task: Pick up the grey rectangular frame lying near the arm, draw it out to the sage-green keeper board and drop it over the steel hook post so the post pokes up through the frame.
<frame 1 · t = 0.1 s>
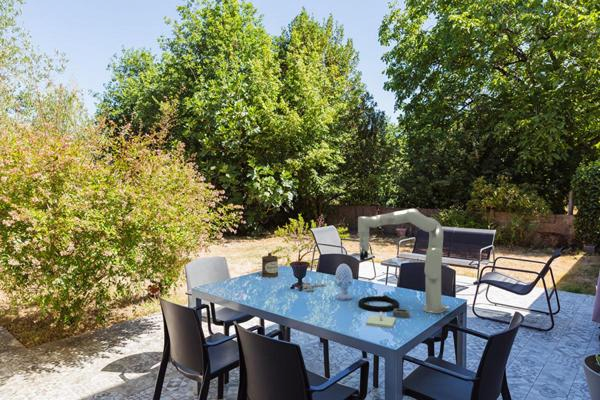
hand: (364, 259, 259), 31 cm above the table, tool pointing down, fingers open, 9 cm apart
keeper board: (381, 322, 221), on the table
cable lock: (379, 306, 255), on the table
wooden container: (270, 276, 353), on the table
pulley system: (312, 288, 306), on the table
grey rectangular frame: (401, 316, 232), on the table
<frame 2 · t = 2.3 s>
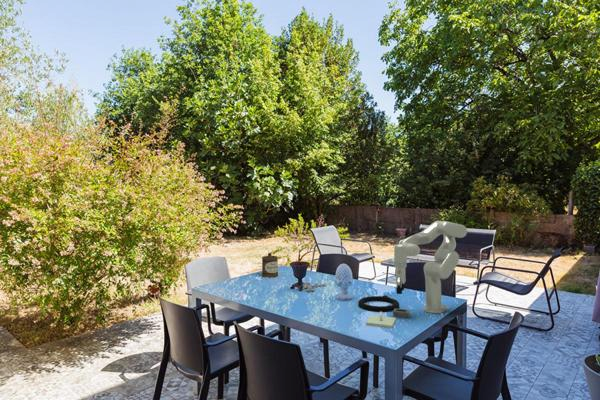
hand: (400, 292, 232), 15 cm above the table, tool pointing down, fingers open, 9 cm apart
nothing on the table moved.
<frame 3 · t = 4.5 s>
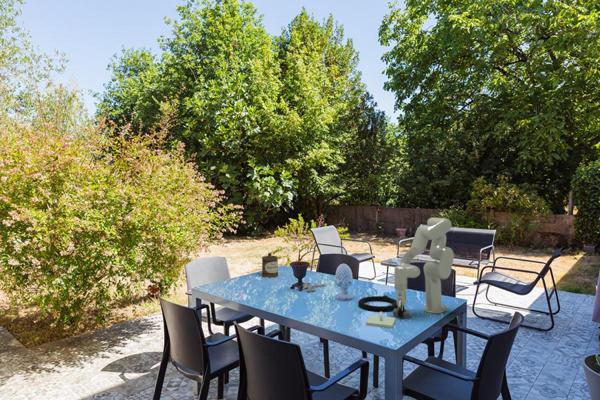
hand: (401, 314, 232), 1 cm above the table, tool pointing down, fingers closed on grey rectangular frame, 6 cm apart
grey rectangular frame: (401, 316, 232), on the table, touching gripper
everything else where it was.
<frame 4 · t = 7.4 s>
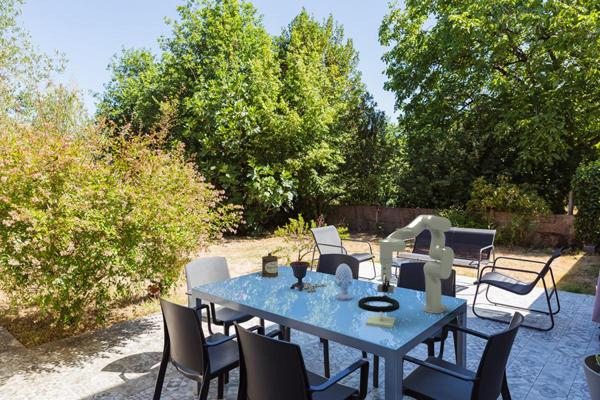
hand: (385, 290, 224), 18 cm above the table, tool pointing down, fingers closed on grey rectangular frame, 6 cm apart
grey rectangular frame: (385, 291, 224), point 18 cm above the table, touching gripper
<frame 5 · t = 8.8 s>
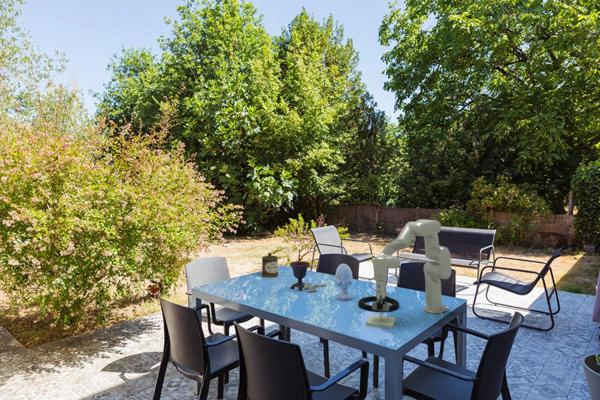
hand: (380, 307, 221), 9 cm above the table, tool pointing down, fingers closed on grey rectangular frame, 6 cm apart
grey rectangular frame: (380, 309, 221), point 8 cm above the table, touching gripper
when the fingers open (4 cm above the table, at t = 10.3 s): grey rectangular frame drops 2 cm, resting on keeper board.
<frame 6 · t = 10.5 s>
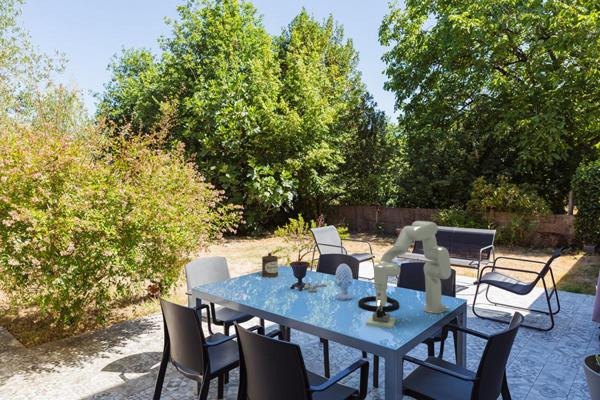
hand: (381, 315, 221), 4 cm above the table, tool pointing down, fingers open, 8 cm apart
grey rectangular frame: (381, 320, 221), point 1 cm above the table, touching keeper board
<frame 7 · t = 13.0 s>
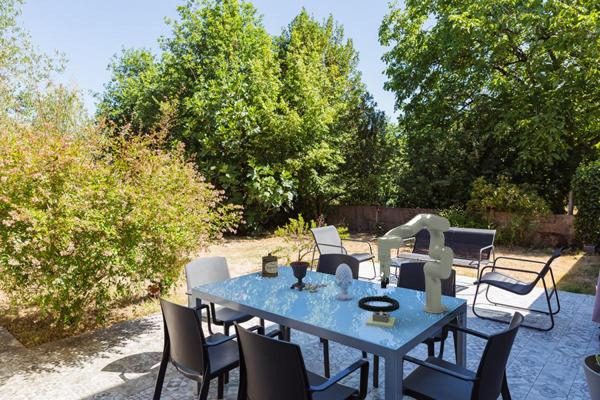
hand: (385, 286, 223), 21 cm above the table, tool pointing down, fingers open, 9 cm apart
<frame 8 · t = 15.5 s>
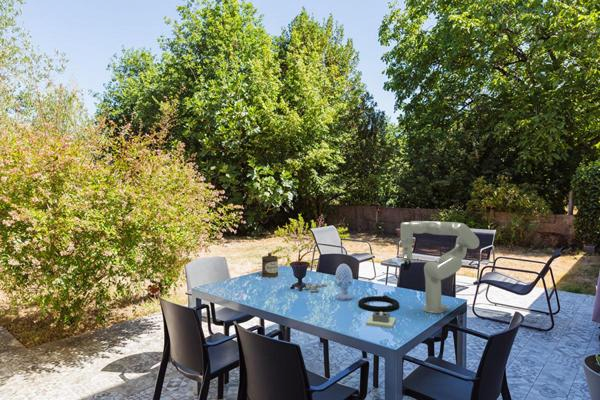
hand: (407, 268, 238), 28 cm above the table, tool pointing down, fingers open, 9 cm apart
at the end: grey rectangular frame 0.1 cm from the keeper board (horizontally); grey rectangular frame point 1.5 cm above the table; the gripper is holding nothing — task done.
